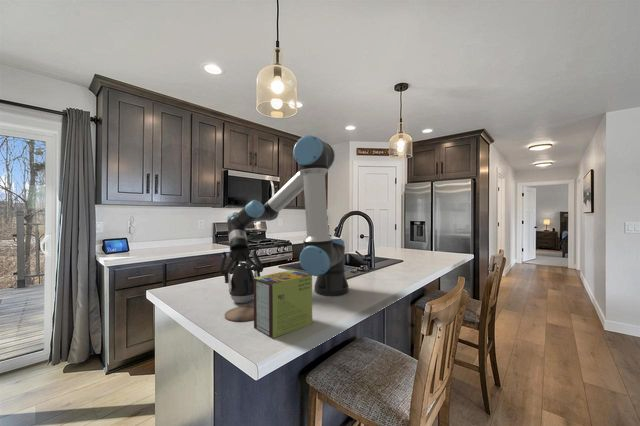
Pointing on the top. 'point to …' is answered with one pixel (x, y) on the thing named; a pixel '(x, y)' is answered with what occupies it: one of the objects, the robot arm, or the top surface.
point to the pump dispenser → (242, 283)
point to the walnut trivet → (240, 314)
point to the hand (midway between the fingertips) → (244, 288)
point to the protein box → (282, 302)
